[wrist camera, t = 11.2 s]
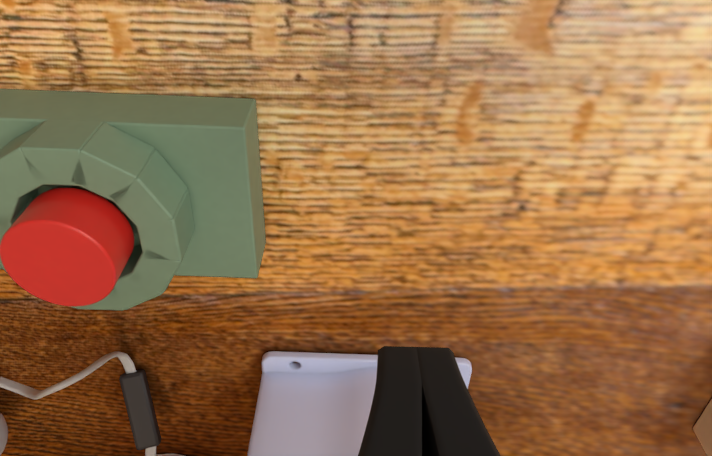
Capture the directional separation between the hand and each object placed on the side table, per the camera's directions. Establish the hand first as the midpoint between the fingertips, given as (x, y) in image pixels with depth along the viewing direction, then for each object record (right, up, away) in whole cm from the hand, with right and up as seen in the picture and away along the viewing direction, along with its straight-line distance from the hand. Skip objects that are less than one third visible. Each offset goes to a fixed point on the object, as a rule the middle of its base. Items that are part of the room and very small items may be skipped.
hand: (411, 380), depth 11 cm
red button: (-10, +3, +6) cm, 12 cm away
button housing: (-10, +5, +9) cm, 14 cm away
